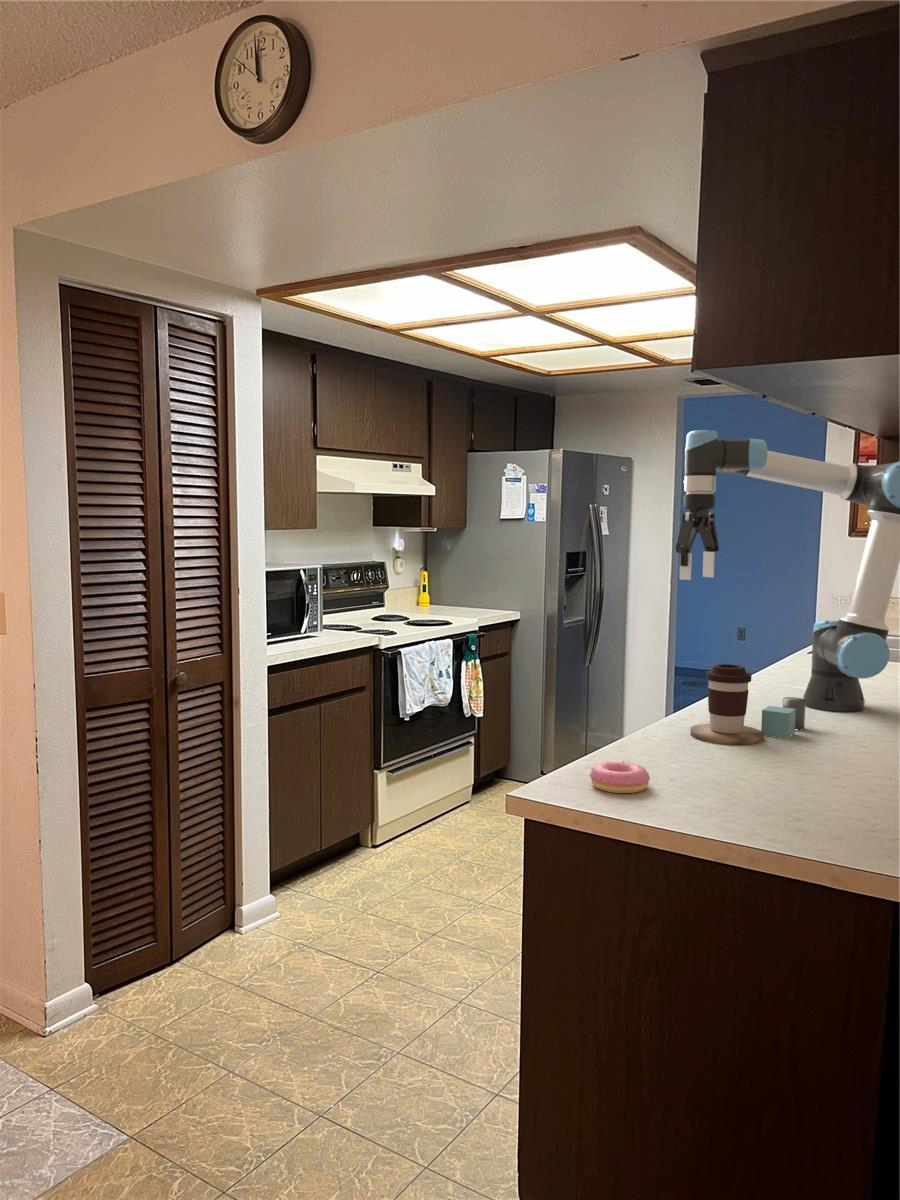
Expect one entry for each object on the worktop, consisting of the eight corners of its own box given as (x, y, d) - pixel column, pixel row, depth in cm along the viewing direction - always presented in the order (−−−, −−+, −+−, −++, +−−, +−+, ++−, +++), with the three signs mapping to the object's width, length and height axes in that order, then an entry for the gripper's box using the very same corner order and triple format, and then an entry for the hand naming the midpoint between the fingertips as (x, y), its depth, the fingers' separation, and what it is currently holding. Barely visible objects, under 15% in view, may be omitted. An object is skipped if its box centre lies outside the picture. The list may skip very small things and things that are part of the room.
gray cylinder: (796, 725, 219) (797, 696, 219) (808, 729, 215) (809, 700, 214) (777, 726, 218) (778, 697, 218) (789, 730, 214) (791, 701, 213)
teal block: (768, 730, 214) (769, 705, 213) (794, 734, 211) (795, 708, 210) (761, 735, 209) (762, 710, 208) (787, 739, 206) (789, 713, 205)
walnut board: (739, 726, 217) (739, 721, 217) (777, 743, 202) (777, 737, 202) (678, 729, 214) (678, 724, 214) (712, 746, 198) (712, 741, 198)
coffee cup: (699, 732, 206) (702, 667, 204) (709, 724, 214) (711, 661, 213) (744, 738, 201) (747, 671, 200) (752, 729, 210) (755, 665, 208)
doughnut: (661, 788, 168) (662, 766, 167) (625, 800, 160) (625, 777, 160) (614, 775, 176) (614, 754, 176) (577, 786, 169) (577, 765, 168)
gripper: (706, 494, 238) (703, 575, 240) (663, 492, 219) (660, 580, 221) (733, 494, 233) (731, 576, 235) (692, 491, 214) (689, 581, 216)
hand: (696, 578), depth 228 cm, fingers open, 13 cm apart
